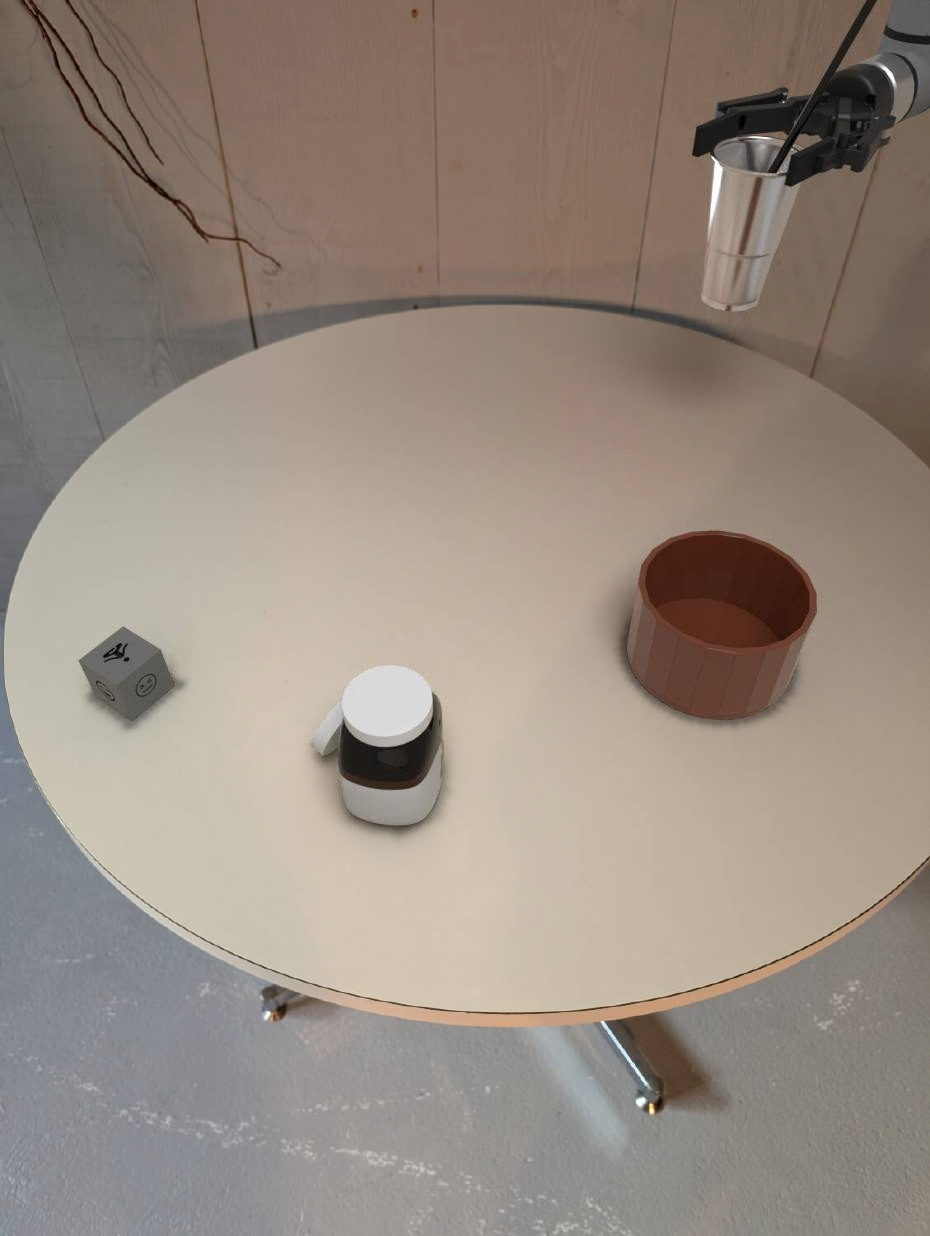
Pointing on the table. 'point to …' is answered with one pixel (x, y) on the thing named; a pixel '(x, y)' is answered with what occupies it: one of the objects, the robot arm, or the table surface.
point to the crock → (719, 623)
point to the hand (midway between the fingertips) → (742, 156)
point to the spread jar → (386, 745)
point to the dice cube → (127, 673)
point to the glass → (754, 202)
